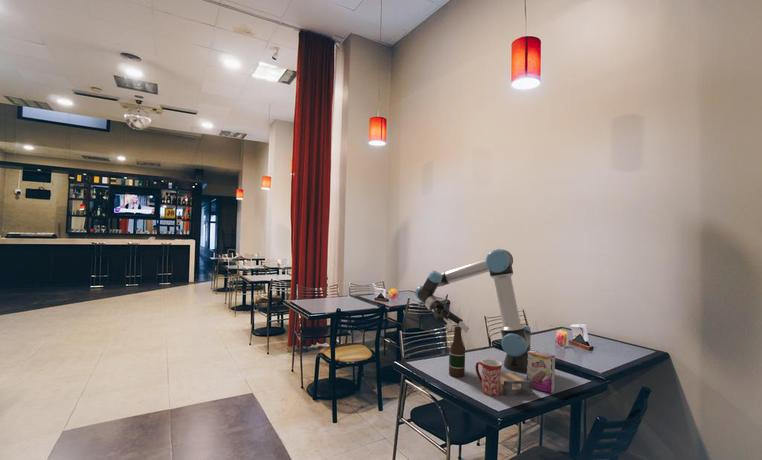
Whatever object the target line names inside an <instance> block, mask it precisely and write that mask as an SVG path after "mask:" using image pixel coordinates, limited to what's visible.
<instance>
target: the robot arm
mask: <svg viewBox="0 0 762 460" xmlns="http://www.w3.org/2000/svg"><path fill="white" fill-rule="evenodd" d="M513 265H514V257H513V255H512V254H511V252H510V251H508V250H505V249H500V248H499V249H494V250H491V251H490V252H489V253H488V254H487V255H486V257H485V258H482V259H481V260H476V261H475V262H471V263H469V264H468V263H467V264H465V265H461V266H459V267H454V268H452V269H450V270H447V271H444V272H438V271H437V270H431V271H430V273H429V274H428V276H427V278H426V279H425V282H424V284H423V285H420V286H418V287H417V288H416V289H415V291H414V295H415V297H416V298H417V299H418V300H419V301H420V302H421V303H422V304H423V305H424V306H425V307H426V308H427V310H429V311H430V312H431V313H432V314H433V317H434V318H435V321H436V322H438V324H441V323H442V326H444V327H445V328H446V329H447V330H448V331H449V332H450V331H451V330H452V329H453V328H454V326H453V325H452V324H451V323H450V322H449V321H448V320H451V321H452V322H454V323H455V324H457V326H459V327H461V330H463V332H464V333H468V331H469V330H470V327H469V326H467V325H466V324H465V323H464V320H463V319H462V318H460V317H459V316H457V315H456V314H454V313H453V312H451V311H450V310H449V309H445V305H444V304H443V303H442V302H441V301H440V299H438V297H436V296H435V295H434V294H435V292H436V291H437V289H438V288H439V287H444V286H446V285H447V286H448V285H449V284H452V283H456V282H460V281H462V280H467V279H470V278H472V277H476V276H479V275H482V274H486V273H489V275H490V278H492V279H493V280H494V286H495V287H494V288H495V290H496V296H497V303H498V307H499V311H500V316H501V323H502V326H501V328H500V332H501V337H502V339H501V347H502V349H503V351H504V352H505V353H506V354H505V358H504V360H503V367H504V368H506V370H507V369H508V370H510V371H514V372H518V373H527V352H528V351H530V350H531V336H532V335H531V333H532V331H531V327H530V326H529V325H525V324H524V325H523V324H521V320H520V316H519V315H520V314H519V309H518V306H517V300H516V296H515V291H514V290H515V289H514V286H513V281H512V276H513V274H514V271H513Z"/></svg>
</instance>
